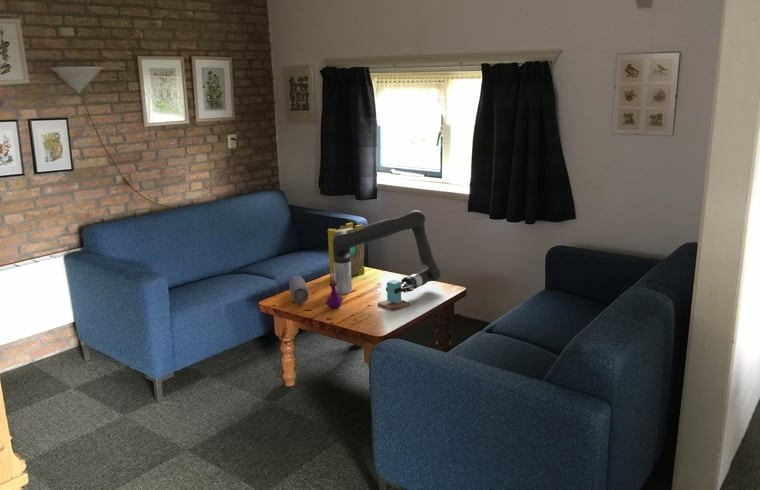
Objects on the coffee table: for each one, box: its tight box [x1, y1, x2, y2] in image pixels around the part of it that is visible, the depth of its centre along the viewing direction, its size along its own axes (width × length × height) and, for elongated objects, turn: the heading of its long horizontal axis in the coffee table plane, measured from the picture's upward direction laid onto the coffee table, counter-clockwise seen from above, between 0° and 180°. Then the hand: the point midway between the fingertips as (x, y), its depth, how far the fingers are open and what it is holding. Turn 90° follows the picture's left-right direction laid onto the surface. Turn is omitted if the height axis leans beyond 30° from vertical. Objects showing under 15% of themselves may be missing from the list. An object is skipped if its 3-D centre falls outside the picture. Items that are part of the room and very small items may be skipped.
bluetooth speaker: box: [288, 275, 310, 304], centre depth 350 cm, size 23×9×10 cm, turn 12°
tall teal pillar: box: [386, 279, 402, 303], centre depth 334 cm, size 5×5×10 cm
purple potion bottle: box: [325, 273, 344, 310], centre depth 334 cm, size 8×8×18 cm
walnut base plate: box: [377, 299, 412, 312], centre depth 334 cm, size 12×12×8 cm
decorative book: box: [327, 222, 365, 278], centre depth 386 cm, size 20×11×30 cm, turn 131°
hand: (390, 290), depth 331 cm, fingers closed on tall teal pillar, 5 cm apart
